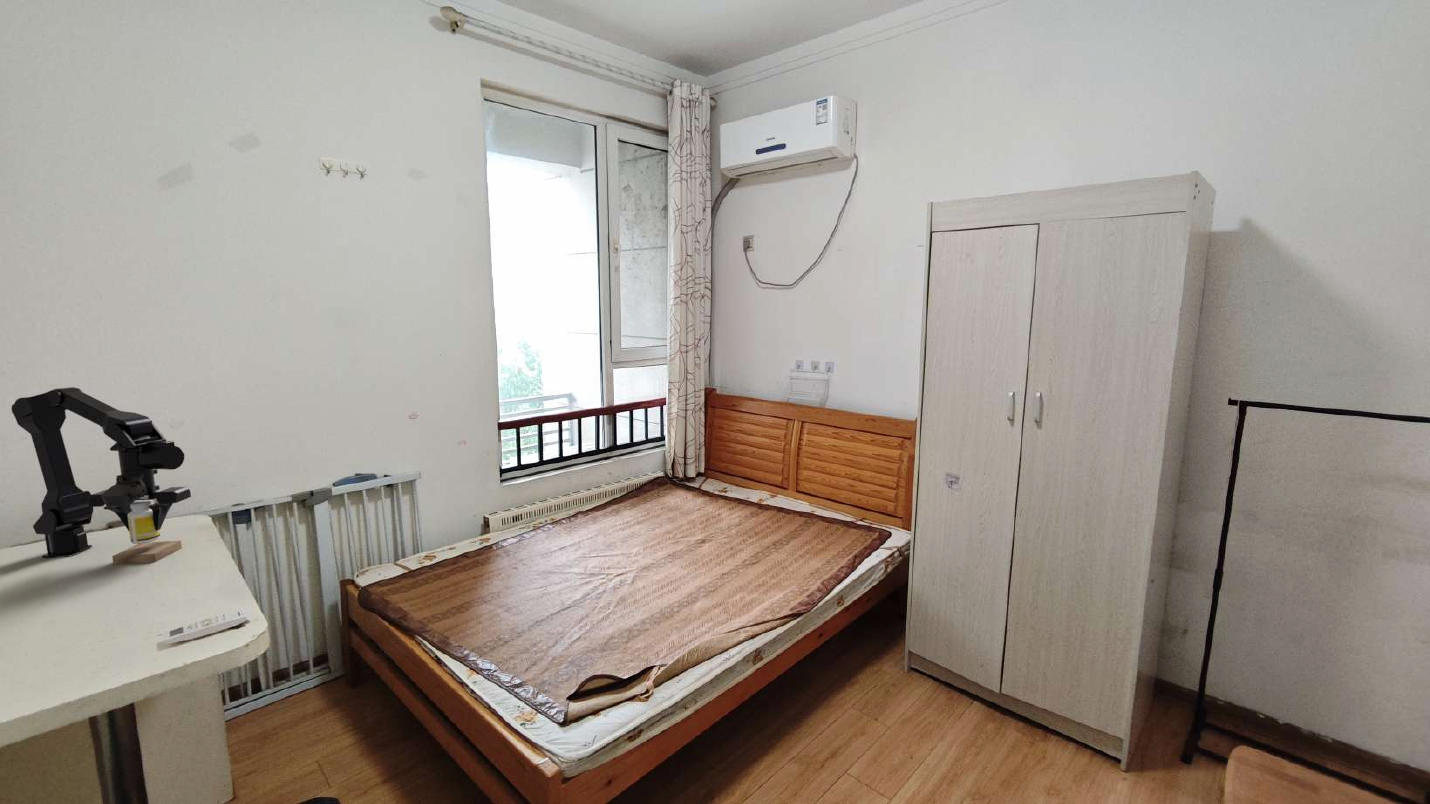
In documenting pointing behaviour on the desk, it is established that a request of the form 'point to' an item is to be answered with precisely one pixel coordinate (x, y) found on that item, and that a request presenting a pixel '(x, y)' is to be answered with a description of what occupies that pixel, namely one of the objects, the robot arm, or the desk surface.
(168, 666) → the desk surface
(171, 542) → the base plate
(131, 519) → the supplement bottle
